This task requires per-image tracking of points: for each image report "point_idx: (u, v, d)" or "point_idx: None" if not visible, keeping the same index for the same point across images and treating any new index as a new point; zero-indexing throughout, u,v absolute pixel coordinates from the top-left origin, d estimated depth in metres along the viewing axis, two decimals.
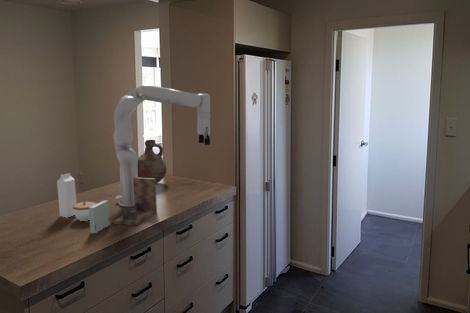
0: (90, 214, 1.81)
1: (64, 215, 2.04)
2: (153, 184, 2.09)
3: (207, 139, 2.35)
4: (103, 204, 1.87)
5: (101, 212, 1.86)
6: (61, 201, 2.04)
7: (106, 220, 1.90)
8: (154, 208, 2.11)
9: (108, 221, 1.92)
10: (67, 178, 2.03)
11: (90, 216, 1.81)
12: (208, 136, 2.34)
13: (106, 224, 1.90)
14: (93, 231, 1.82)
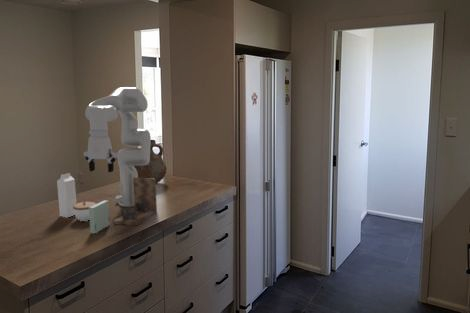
0: (90, 214, 1.81)
1: (64, 215, 2.04)
2: (153, 184, 2.09)
3: (112, 164, 1.83)
4: (103, 204, 1.87)
5: (101, 212, 1.86)
6: (61, 201, 2.04)
7: (106, 220, 1.90)
8: (154, 208, 2.11)
9: (108, 221, 1.92)
10: (67, 178, 2.03)
11: (90, 216, 1.81)
12: (114, 160, 1.83)
13: (106, 224, 1.90)
14: (93, 231, 1.82)
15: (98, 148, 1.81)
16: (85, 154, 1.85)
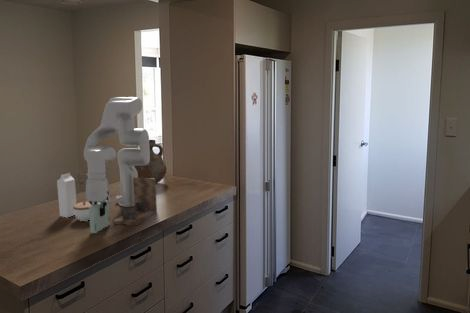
0: (90, 214, 1.81)
1: (64, 215, 2.04)
2: (153, 184, 2.09)
3: (103, 208, 1.85)
4: None
5: None
6: (61, 201, 2.04)
7: (106, 220, 1.90)
8: (154, 208, 2.11)
9: (108, 221, 1.92)
10: (67, 178, 2.03)
11: (90, 216, 1.81)
12: (105, 205, 1.85)
13: (106, 224, 1.90)
14: (93, 231, 1.82)
15: (96, 191, 1.82)
16: None
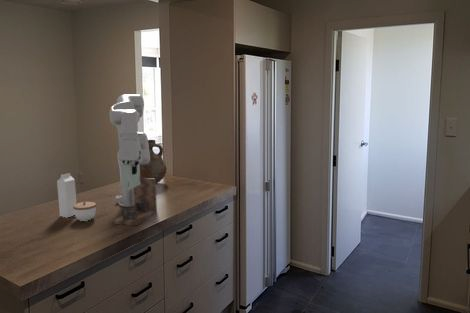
0: (123, 172, 1.93)
1: (64, 215, 2.04)
2: (153, 184, 2.09)
3: (135, 167, 1.98)
4: None
5: None
6: (61, 201, 2.04)
7: (137, 179, 2.03)
8: (154, 208, 2.11)
9: (139, 180, 2.04)
10: (67, 178, 2.03)
11: (123, 174, 1.94)
12: (137, 164, 1.97)
13: (137, 183, 2.03)
14: (126, 188, 1.95)
15: (129, 150, 1.94)
16: (121, 159, 1.99)
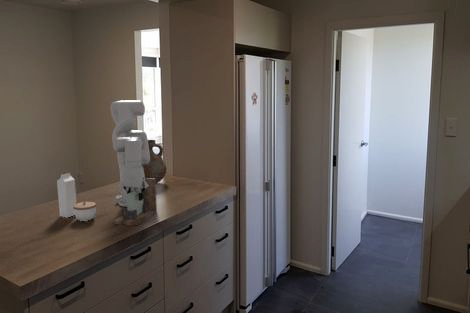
0: (128, 200, 1.97)
1: (64, 215, 2.04)
2: (153, 184, 2.09)
3: (142, 193, 2.01)
4: (138, 191, 2.03)
5: (137, 198, 2.02)
6: (61, 201, 2.04)
7: (141, 206, 2.06)
8: (154, 208, 2.11)
9: (142, 207, 2.08)
10: (67, 178, 2.03)
11: (128, 202, 1.97)
12: None
13: (141, 210, 2.06)
14: None
15: (133, 177, 1.97)
16: (122, 184, 2.02)
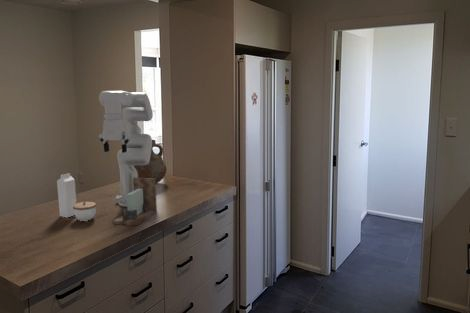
0: (128, 200, 1.97)
1: (64, 215, 2.04)
2: (153, 184, 2.09)
3: (125, 145, 1.97)
4: (138, 191, 2.03)
5: (137, 198, 2.02)
6: (61, 201, 2.04)
7: (141, 206, 2.06)
8: (154, 208, 2.11)
9: (142, 207, 2.08)
10: (67, 178, 2.03)
11: (128, 202, 1.97)
12: (127, 142, 1.97)
13: (141, 210, 2.06)
14: None
15: (112, 130, 1.95)
16: (100, 136, 2.00)
